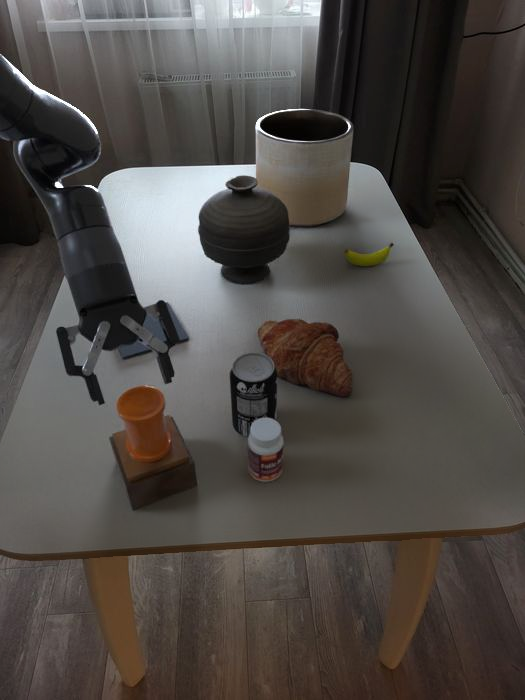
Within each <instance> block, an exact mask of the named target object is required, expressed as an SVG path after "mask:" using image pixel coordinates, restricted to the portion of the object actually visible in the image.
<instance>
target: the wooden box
mask: <svg viewBox="0 0 525 700" xmlns="http://www.w3.org/2000/svg"><path fill="white" fill-rule="evenodd" d="M164 417H165V423H166V429H167V430H168V431H169V432H170V435H171V439H172V445H171V448H170V450H169V452H168V453H167V454H166V455H165V456H164V457H162V458H161V459H159V460H157V461H153V462H139V461H136V460H134V459H133V458H132V457H131V456H130V455H129V453H128V451H127V447H126V442H127V439H128V437H127V433H126V429H125V428H124V429H123V430H120V431H119V430H118V431H117V432H114V433H111V434H112V436H109V437H108V440H109V443H110V447H111V451H112V454H113V458H114V461H115V464H116V467H117V470H118V473H119V475H120V479H121V481H122V484H123V487H124V489H125V493H126V496H127V499H128V502H129V504H130V507H131V511H135V510H137V509H140V508H142V507H145V506H148V505H151V504H153V503H155V502H159V501H161V500H164V499H166V498H169V497H171V496H174V495H176V494H179V493H181V492H184V491H187V490H189V489H192V488H195V487H197V486H198V480H197V479H198V478H197V472H196V471H197V470H196V465H195V464H196V463H195V460H194V458H193V456H192V454H191V452H190V450H189V448H188V445H187V444H186V442H185V439H184V438H183V436H182V434H181V431H180V430H179V427H178V425H177V423H176V421H175V419H174V416H172V415H171V416H170V414H167V415H164Z"/></svg>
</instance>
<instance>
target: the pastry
mask: <svg viewBox="0 0 525 700" xmlns="http://www.w3.org/2000/svg"><path fill="white" fill-rule="evenodd" d="M256 334H257V337H258V339H259V340H258V341H259V344H260V346H261V348H262V351H263V354H265V355H267V356H268V357H270V358H271V359H272V361H273V363H274V367H275V368H276V370H277V379H280V380H284V381H286V382H289V383H290V384H293V385H295V386H305V387H306V386H307V387H309V388H310V389H312V390H314V391H321V392H325V393H328V394H329V393H330V394H332V395H334V396H335V397H337V396H338V397H341V398H347V397H350V395H351V394H352V389H353V388H352V385H353V377H354V376H353V371H352V369H351V368H350V367H349V365H348V364H347V363H346V362H345V360H344V348H343V347H342V346H341V343H339V342H338V340H339V338H340V334H339V330H338V329H337V327H335V326H334V325H333V324H331V323H328V322H321V321H319V322H316V321H314V322H310V323H308V322H307V321H306V320H303V319H301V318H286V319H282V320H280V321H277V320H266V321H264V322H263V323H262V324H261V325H260V326H259V327H258V328H257V332H256Z"/></svg>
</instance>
